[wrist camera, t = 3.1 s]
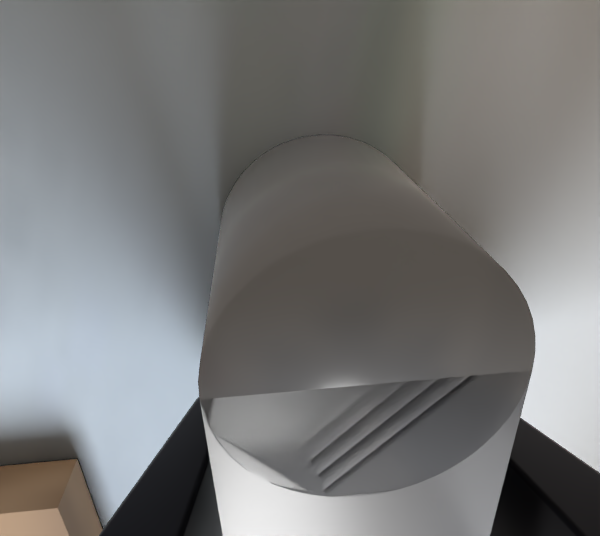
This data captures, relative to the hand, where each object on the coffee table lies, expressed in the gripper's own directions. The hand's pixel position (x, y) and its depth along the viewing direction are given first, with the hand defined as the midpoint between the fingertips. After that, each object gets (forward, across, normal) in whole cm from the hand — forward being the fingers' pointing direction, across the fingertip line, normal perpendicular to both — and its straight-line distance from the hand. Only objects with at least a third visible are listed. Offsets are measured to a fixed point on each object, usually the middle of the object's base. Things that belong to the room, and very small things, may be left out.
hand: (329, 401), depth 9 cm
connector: (+1, 0, +1) cm, 2 cm away
